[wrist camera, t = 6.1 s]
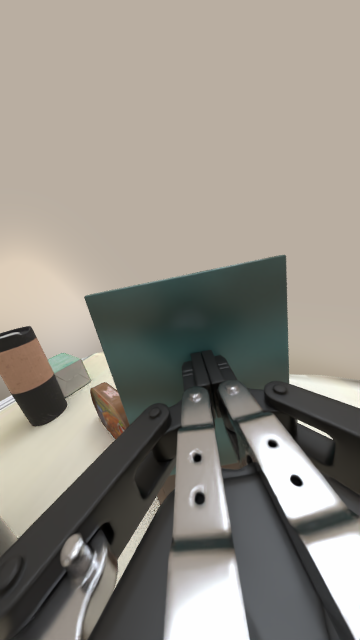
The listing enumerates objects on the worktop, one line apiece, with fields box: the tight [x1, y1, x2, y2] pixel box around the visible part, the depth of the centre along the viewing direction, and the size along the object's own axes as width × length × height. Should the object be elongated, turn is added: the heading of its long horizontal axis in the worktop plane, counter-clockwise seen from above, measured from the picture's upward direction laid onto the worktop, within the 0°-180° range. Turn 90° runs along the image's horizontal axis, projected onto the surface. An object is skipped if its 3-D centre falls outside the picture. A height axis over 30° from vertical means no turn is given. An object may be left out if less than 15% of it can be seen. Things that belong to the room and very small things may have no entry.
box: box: [48, 353, 90, 397], centre depth 51 cm, size 7×14×8 cm, turn 54°
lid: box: [84, 255, 289, 475], centre depth 14 cm, size 16×13×1 cm
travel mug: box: [0, 326, 67, 426], centre depth 38 cm, size 8×8×20 cm
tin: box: [90, 382, 130, 439], centre depth 31 cm, size 15×3×8 cm, turn 46°
